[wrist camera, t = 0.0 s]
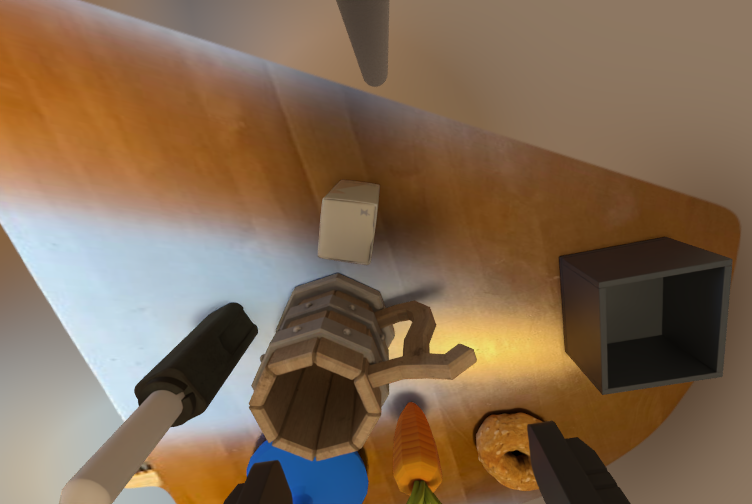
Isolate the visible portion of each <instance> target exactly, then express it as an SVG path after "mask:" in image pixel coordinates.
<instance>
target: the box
mask: <svg viewBox="0 0 752 504" xmlns="http://www.w3.org/2000/svg"><path fill="white" fill-rule="evenodd" d="M379 191H380V185H378V184H373V183H367V182H359V181H351V180H340V181H339V182H338V183H337V185H336V186H335V187H334V188H333V189H332V190H331V191H330V192H329V193H328V194H327V195H326V196H325V197H324V198H323V200H322V208H321V217H320V229H319V243H318V257H319V258H324V259H330V260H336V261H342V262H349V263H356V264H363V265H369V264H370V262H371V256H372V249H373V243H374V236H375V228H376V220H377V212H378V202H379Z"/></svg>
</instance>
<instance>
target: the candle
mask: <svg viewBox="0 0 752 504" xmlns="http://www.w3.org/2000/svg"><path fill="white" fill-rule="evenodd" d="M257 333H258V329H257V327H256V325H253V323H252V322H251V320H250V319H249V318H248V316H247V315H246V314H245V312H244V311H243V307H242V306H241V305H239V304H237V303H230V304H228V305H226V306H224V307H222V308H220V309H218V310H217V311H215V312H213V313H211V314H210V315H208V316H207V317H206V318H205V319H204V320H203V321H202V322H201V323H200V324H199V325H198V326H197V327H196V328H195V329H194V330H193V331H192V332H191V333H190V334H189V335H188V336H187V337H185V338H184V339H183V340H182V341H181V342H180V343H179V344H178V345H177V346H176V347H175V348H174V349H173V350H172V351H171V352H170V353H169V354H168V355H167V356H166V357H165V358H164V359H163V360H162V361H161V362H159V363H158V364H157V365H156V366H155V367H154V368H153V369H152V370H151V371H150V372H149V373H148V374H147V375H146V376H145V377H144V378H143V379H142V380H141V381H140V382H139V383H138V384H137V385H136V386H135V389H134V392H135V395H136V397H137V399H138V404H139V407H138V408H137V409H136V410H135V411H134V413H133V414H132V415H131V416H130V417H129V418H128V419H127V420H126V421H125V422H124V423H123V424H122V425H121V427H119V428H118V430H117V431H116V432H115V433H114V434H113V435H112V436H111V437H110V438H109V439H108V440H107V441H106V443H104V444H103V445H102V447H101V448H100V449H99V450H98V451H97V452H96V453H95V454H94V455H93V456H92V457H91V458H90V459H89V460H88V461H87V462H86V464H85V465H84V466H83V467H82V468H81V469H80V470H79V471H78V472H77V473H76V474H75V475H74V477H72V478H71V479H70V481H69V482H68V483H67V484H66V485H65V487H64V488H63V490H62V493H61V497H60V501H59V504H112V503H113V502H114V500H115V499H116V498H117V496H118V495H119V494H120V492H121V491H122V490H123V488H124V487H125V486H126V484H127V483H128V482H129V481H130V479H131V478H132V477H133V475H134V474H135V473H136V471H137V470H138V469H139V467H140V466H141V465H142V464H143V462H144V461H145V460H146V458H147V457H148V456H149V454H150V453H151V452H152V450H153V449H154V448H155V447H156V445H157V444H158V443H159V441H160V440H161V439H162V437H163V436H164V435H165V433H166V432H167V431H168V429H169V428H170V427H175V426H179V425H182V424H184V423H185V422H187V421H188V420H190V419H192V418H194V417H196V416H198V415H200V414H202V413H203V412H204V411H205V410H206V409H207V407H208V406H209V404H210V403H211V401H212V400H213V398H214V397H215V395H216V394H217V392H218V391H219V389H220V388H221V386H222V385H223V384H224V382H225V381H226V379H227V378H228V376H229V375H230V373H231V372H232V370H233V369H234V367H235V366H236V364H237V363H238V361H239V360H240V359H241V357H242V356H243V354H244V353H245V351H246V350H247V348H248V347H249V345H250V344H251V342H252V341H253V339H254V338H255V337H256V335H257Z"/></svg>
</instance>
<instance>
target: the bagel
mask: <svg viewBox="0 0 752 504" xmlns="http://www.w3.org/2000/svg"><path fill="white" fill-rule="evenodd" d="M540 422H542V421H541V420H538V419H536V418H534V417H532V416H530V415H528V414H525V413H521V412H520V413H515V414H500V415H490V416H488V417H487V418H486V419H485V421H484V422H483V424H482V425H481V427H480V428H479V430H478V432H477V433H476V443H477V451H478V454H479V461H481V462H482V464H483V467H484V468H485V469H486V470H487V471H488V472H489V473H490V474H491V475H492V476H493V477H495V478H496V480H497V481H499V482H500V483H501V484H502V485H504V486H506V487H508V488H511V489H516V490H517V489H518V490H521V491H530V490H535V489H539V487H538V485H537V482H536V479H535V476H534V473H533V470H532V465H531V459H530V450H529V440H528V431H527V425H528V424H533V423H540ZM515 450H518V451H520V452H523V453H522V454H521V455H519V456H517V457H516V456H515V455H513V454H512V453H511V451H515Z"/></svg>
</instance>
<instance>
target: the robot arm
mask: <svg viewBox="0 0 752 504" xmlns="http://www.w3.org/2000/svg"><path fill="white" fill-rule="evenodd" d="M527 431H528V440H529V450H530V459H531V465H532V470H533V473H534V476H535V479H536V482H537V485H538V487H539V489H540V492H541V494H542V496H543V498H544V501H545V503H546V504H630V502H629V501H628V499H627V498H626V496H625V495H624V493H623V492H622V491H621V489H620V488H619V487H618V486H617V483H616V482H615V480H614V479H613V477H612V476H611V474H610V473H609V472H608V471H607V468H606V467H605V465H604V464H603V462H602V461H601V460H600V458H599V457H598V455H597V454H596V452H595V451H594V450H593V449H592V448H590V447H589V446H588V445H587V444H585V443H584V442H583V441H581V440H580V439H579V438H578V437H576V438H569V439H564V437H563V435H562V434H561V432H560V430H559V429H558V427H557V425H556V424H555V423H554V422H553V421H546V422H540V423H533V424H528V425H527ZM224 504H293V498H292V493H291V490H290V488H289V485H288V482H287V480H286V477H285V474H284V471H283V469H282V466H281V464H280V462H279V461H278V460H273V461H266V462H259V463H255V464H253V466H252V467H251V469H250V472H249V474H248V476H247V479H246V481H245V483H242V484H238V485H237V486H236V487H235V489H234V490H233V491H232V492H231V494H230V495H229V496H228V497H227V499H226V500H225V501H224Z"/></svg>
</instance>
